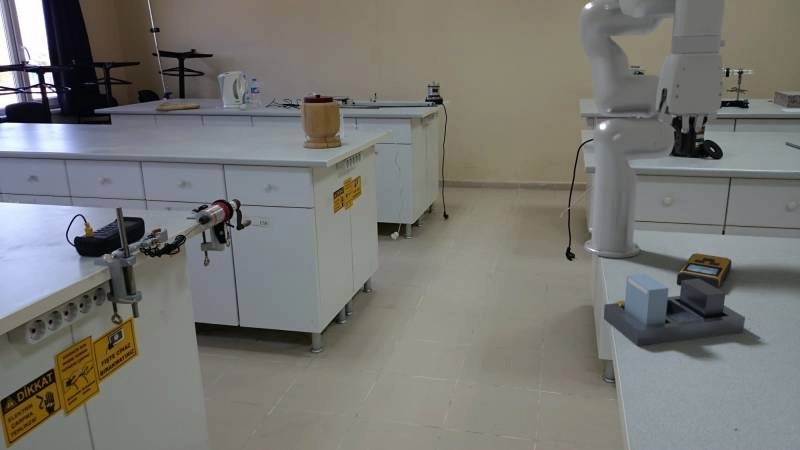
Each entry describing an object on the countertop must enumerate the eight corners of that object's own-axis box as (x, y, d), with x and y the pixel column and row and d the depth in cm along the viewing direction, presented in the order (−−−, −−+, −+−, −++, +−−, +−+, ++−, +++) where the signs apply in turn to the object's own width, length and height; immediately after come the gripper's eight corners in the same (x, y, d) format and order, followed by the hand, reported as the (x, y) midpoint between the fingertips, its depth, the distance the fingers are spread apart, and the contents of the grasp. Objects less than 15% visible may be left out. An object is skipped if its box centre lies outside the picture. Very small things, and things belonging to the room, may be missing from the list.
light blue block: (623, 316, 111) (627, 275, 108) (641, 314, 111) (645, 273, 109) (645, 333, 104) (649, 290, 102) (664, 331, 105) (668, 288, 102)
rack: (603, 318, 112) (606, 284, 110) (701, 306, 116) (704, 273, 114) (637, 346, 102) (640, 308, 100) (743, 332, 105) (748, 295, 103)
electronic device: (731, 271, 134) (734, 257, 133) (718, 294, 122) (721, 279, 121) (690, 264, 139) (692, 250, 138) (674, 286, 127) (675, 270, 126)
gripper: (719, 46, 109) (707, 148, 114) (642, 48, 106) (634, 153, 111) (750, 45, 102) (736, 155, 107) (668, 48, 99) (658, 160, 104)
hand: (684, 154), depth 109 cm, fingers closed
